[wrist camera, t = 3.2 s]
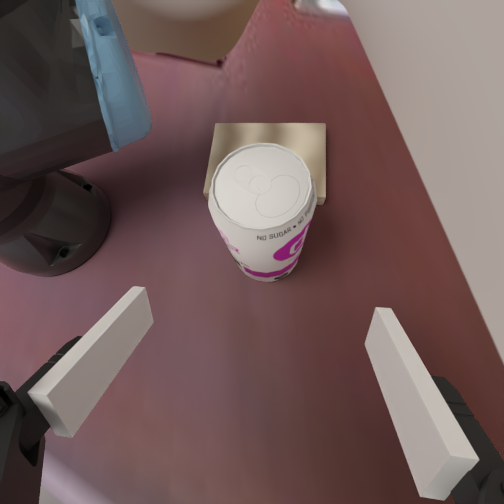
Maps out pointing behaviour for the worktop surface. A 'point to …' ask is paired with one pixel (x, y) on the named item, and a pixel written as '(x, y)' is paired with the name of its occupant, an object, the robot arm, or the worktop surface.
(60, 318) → the worktop surface
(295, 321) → the worktop surface
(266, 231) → the supplement can
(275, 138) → the birch board
